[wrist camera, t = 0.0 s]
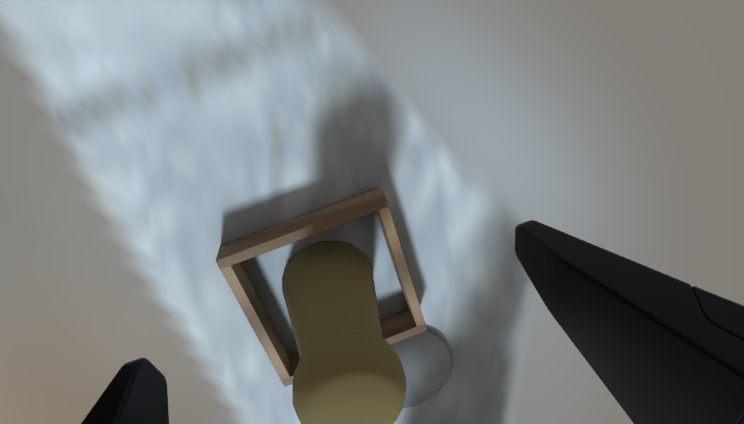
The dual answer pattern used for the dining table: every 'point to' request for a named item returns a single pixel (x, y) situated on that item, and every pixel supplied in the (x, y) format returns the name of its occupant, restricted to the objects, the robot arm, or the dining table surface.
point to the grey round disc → (423, 365)
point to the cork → (340, 339)
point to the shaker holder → (299, 229)
